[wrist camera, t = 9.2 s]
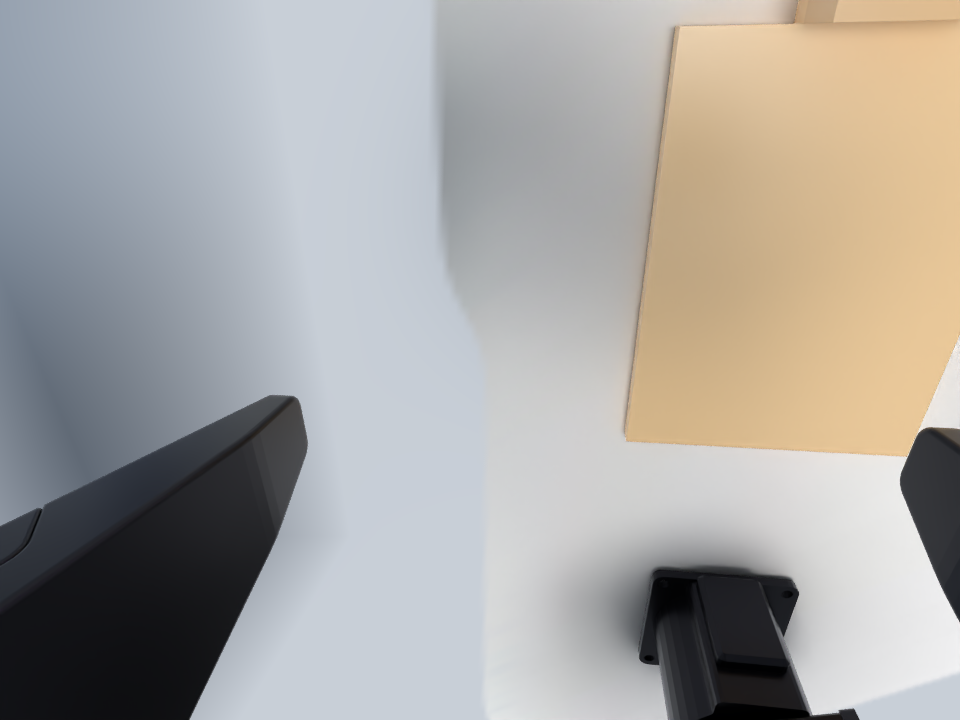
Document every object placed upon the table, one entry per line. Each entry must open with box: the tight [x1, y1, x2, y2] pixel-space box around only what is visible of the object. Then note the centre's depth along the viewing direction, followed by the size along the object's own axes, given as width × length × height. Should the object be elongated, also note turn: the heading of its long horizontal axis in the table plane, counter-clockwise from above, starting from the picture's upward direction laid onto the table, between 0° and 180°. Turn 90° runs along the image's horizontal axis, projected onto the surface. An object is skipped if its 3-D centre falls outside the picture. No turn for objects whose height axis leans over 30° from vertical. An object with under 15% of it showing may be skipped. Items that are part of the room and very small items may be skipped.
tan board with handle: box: [625, 0, 960, 457], centre depth 18 cm, size 20×11×3 cm, turn 1°
